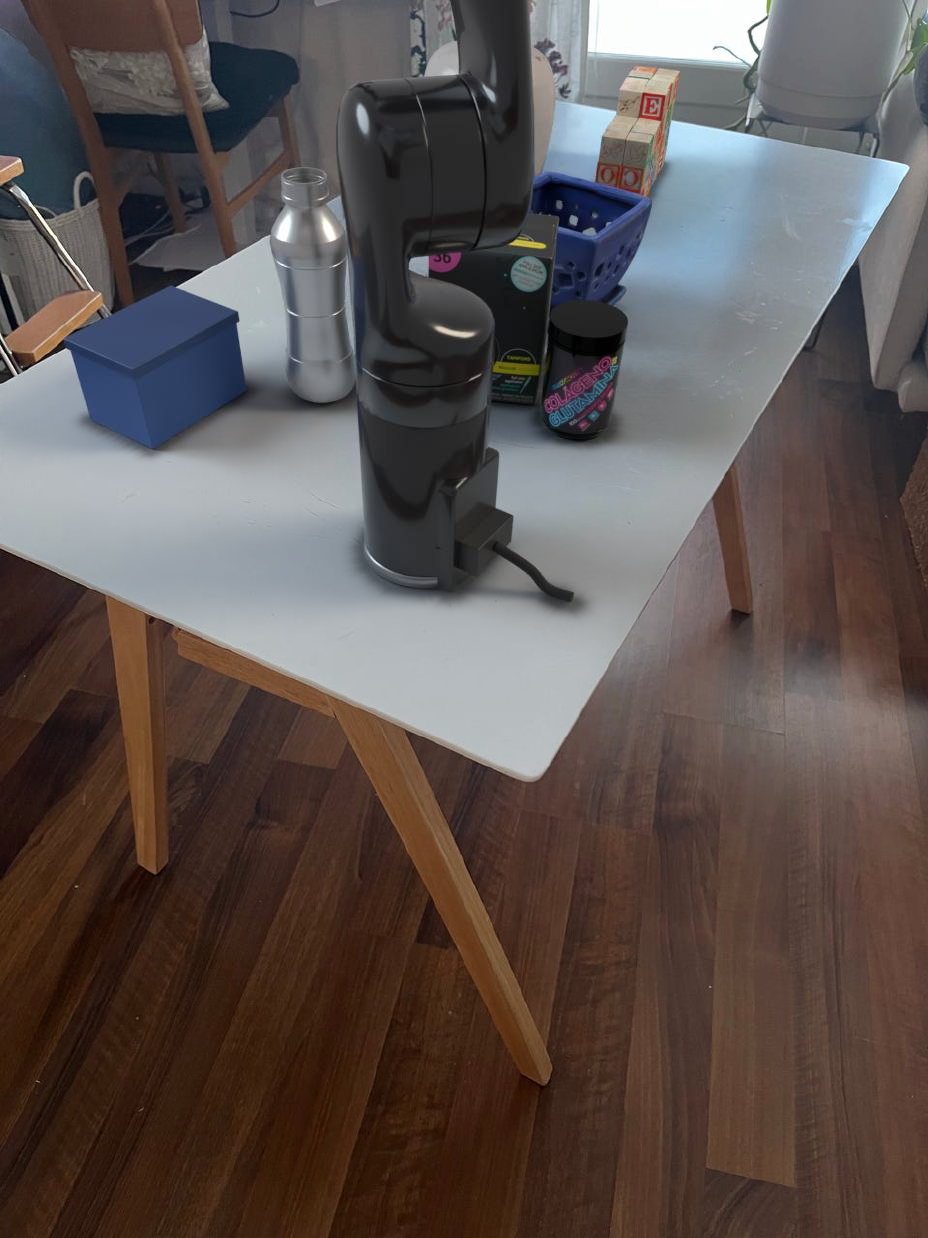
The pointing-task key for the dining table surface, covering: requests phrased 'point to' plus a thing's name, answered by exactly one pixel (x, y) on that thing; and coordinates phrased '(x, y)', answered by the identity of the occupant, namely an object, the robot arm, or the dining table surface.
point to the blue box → (159, 365)
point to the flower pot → (593, 259)
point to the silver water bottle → (313, 288)
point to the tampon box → (511, 301)
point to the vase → (543, 92)
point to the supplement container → (582, 368)
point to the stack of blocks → (638, 131)
